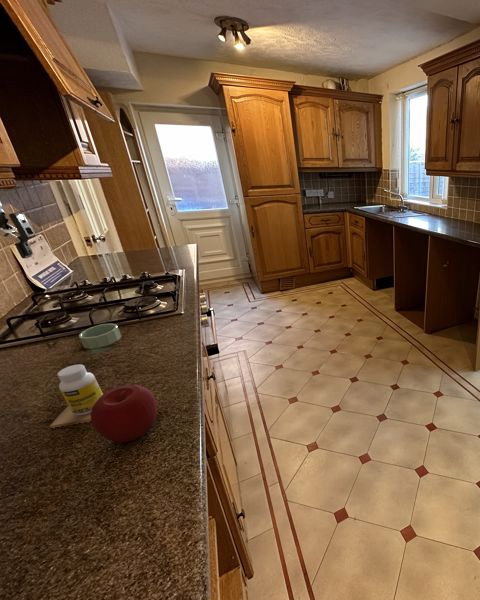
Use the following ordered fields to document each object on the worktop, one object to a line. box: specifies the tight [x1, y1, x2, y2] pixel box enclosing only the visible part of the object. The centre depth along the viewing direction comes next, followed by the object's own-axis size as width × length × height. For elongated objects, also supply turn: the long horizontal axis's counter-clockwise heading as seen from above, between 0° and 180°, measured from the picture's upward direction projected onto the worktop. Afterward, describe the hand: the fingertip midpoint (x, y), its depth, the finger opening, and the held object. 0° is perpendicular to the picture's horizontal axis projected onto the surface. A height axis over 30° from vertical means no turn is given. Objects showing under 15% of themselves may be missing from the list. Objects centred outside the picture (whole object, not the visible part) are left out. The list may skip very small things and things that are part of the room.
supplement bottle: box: [56, 364, 104, 415], centre depth 67 cm, size 5×5×10 cm
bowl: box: [78, 323, 123, 355], centre depth 92 cm, size 8×8×5 cm
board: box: [49, 405, 91, 429], centre depth 69 cm, size 10×8×1 cm
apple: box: [90, 384, 158, 443], centre depth 62 cm, size 10×10×10 cm
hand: (4, 259), depth 76 cm, fingers open, 8 cm apart
